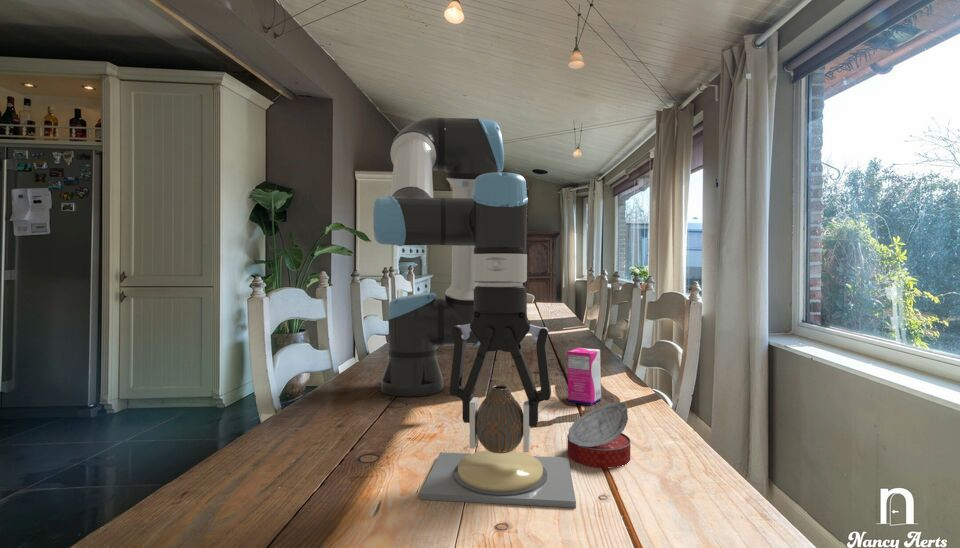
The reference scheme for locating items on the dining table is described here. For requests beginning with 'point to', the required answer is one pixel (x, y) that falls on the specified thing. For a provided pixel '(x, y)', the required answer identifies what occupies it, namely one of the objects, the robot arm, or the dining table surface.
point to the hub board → (500, 479)
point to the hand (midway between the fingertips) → (500, 446)
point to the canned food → (600, 437)
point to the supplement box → (584, 376)
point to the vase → (499, 421)
